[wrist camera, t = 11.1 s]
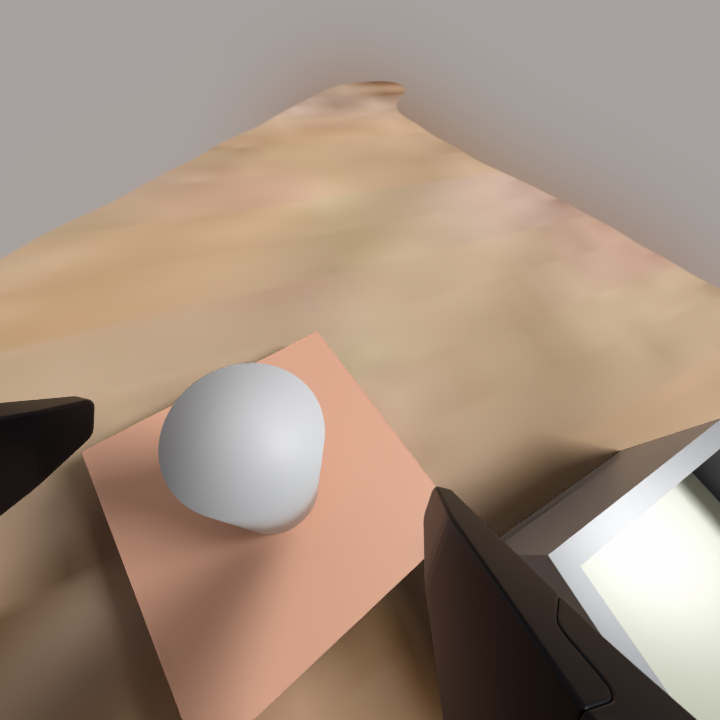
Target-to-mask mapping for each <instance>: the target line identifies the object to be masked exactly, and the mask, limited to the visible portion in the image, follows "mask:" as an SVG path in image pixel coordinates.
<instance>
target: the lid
mask: <svg viewBox="0 0 720 720" xmlns="http://www.w3.org/2000/svg"><path fill="white" fill-rule="evenodd" d="M81 453H82V455H83V458H84V461H85V463H86V466H87V469H88V471H89V474H90V477H91V479H92V482H93V485H94V487H95V490H96V493H97V495H98V498H99V500H100V503H101V506H102V508H103V511H104V514H105V516H106V519H107V522H108V524H109V527H110V530H111V532H112V535H113V538H114V540H115V543H116V546H117V548H118V551H119V554H120V556H121V559H122V561H123V564H124V567H125V569H126V572H127V575H128V577H129V580H130V583H131V585H132V588H133V591H134V593H135V596H136V599H137V601H138V604H139V607H140V609H141V612H142V614H143V617H144V620H145V622H146V625H147V628H148V630H149V633H150V636H151V638H152V641H153V644H154V646H155V649H156V652H157V654H158V657H159V660H160V662H161V665H162V667H163V670H164V673H165V675H166V678H167V681H168V683H169V686H170V689H171V691H172V694H173V697H174V699H175V702H176V705H177V707H178V710H179V713H180V715H181V718H182V720H254V719H255V718H256V717H257V716H258V715H259V714H260V713H261V712H262V711H263V710H264V709H265V708H266V707H267V706H268V705H269V704H271V703H272V702H273V701H274V700H275V699H276V698H277V697H278V696H279V695H280V694H281V693H282V692H283V691H284V690H285V689H286V688H288V687H289V686H290V685H291V684H292V683H293V682H294V681H295V680H296V679H297V678H298V677H299V676H300V675H301V674H302V673H303V672H304V671H306V670H307V669H308V668H309V667H310V666H311V665H312V664H313V663H314V662H315V661H316V660H317V659H318V658H319V657H320V656H321V655H323V654H324V653H325V652H326V651H327V650H328V649H329V648H330V647H331V646H332V645H333V644H334V643H335V642H336V641H337V640H338V639H339V638H341V637H342V636H343V635H344V634H345V633H346V632H347V631H348V630H349V629H350V628H351V627H352V626H353V625H354V624H355V623H356V622H358V621H359V620H360V619H361V618H362V617H363V616H364V615H365V614H366V613H367V612H368V611H369V610H370V609H371V608H372V607H373V606H374V605H376V604H377V603H378V602H379V601H380V600H381V599H382V598H383V597H384V596H385V595H386V594H387V593H388V592H389V591H390V590H391V589H393V588H394V587H395V586H396V585H397V584H398V583H399V582H400V581H401V580H402V579H403V578H404V577H405V576H406V575H407V574H408V573H409V572H411V571H412V570H413V569H414V568H415V567H416V566H417V565H418V564H419V563H420V562H421V561H422V560H423V559H424V527H423V521H424V514H425V510H426V508H427V505H428V502H429V499H430V496H431V493H432V490H433V489H434V488H435V487H436V486H435V485H434V483H433V482H432V481H431V480H430V478H429V477H428V476H427V474H426V473H425V472H424V470H423V469H422V468H421V466H420V465H419V464H418V463H417V461H416V460H415V459H414V457H413V456H412V455H411V453H410V452H409V451H408V449H407V448H406V447H405V445H404V444H403V443H402V442H401V440H400V439H399V438H398V436H397V435H396V434H395V432H394V431H393V430H392V428H391V427H390V426H389V424H388V423H387V422H386V421H385V419H384V418H383V417H382V415H381V414H380V413H379V411H378V410H377V409H376V407H375V406H374V405H373V404H372V402H371V401H370V400H369V398H368V397H367V396H366V394H365V393H364V392H363V390H362V389H361V388H360V386H359V385H358V384H357V383H356V381H355V380H354V379H353V377H352V376H351V375H350V373H349V372H348V371H347V369H346V368H345V367H344V365H343V364H342V363H341V362H340V360H339V359H338V358H337V356H336V355H335V354H334V352H333V351H332V350H331V348H330V347H329V346H328V345H327V343H326V342H325V341H324V339H323V338H322V337H321V335H320V334H319V333H318V331H317V332H315V333H313V334H311V335H309V336H307V337H305V338H303V339H301V340H299V341H297V342H295V343H293V344H291V345H289V346H288V347H286V348H284V349H282V350H280V351H278V352H276V353H274V354H272V355H270V356H268V357H266V358H264V359H262V360H260V361H258V362H256V363H242V364H236V365H231V366H227V367H224V368H221V369H218V370H216V371H213V372H211V373H209V374H207V375H206V376H204V377H202V378H200V379H199V380H198V381H196V382H195V383H193V384H192V385H191V386H190V387H189V388H188V389H186V390H185V391H184V392H183V394H182V395H181V396H180V397H179V398H178V399H177V400H176V402H175V403H174V405H172V406H170V407H168V408H166V409H164V410H162V411H160V412H158V413H156V414H154V415H152V416H150V417H148V418H146V419H144V420H142V421H140V422H138V423H136V424H134V425H132V426H130V427H128V428H126V429H125V430H123V431H121V432H119V433H117V434H115V435H113V436H111V437H109V438H107V439H105V440H103V441H101V442H99V443H97V444H95V445H93V446H91V447H89V448H87V449H85V450H83V451H81Z"/></svg>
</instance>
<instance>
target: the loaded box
mask: <svg viewBox="0 0 720 720" xmlns="http://www.w3.org/2000/svg"><path fill="white" fill-rule="evenodd" d="M500 538H501V539H502V540H503V541H504V542H505V543H506V544H507V545H508V546H509V547H510V548H511V549H512V550H513V551H514V552H515V553H517V554H518V555H519V556H520V557H521V558H522V559H523V560H524V561H525V562H526V563H527V564H528V565H529V566H530V567H531V568H532V569H533V570H534V571H535V572H536V573H537V574H538V575H539V576H540V577H541V578H542V579H543V580H544V581H545V582H546V583H547V584H549V585H550V586H551V587H552V588H553V589H554V590H555V591H556V592H557V593H558V595H559V597H562V598H563V599H564V600H565V601H566V602H567V603H568V604H569V605H570V606H571V607H572V608H573V609H574V610H575V611H576V612H577V613H579V614H580V615H581V616H582V617H583V618H584V619H585V620H586V621H587V622H588V623H589V624H590V625H591V626H592V627H593V628H594V629H596V630H597V631H598V632H599V633H600V634H601V635H602V636H603V637H604V638H605V639H606V640H607V641H608V642H610V643H611V644H612V645H613V646H614V647H615V648H616V649H617V650H619V651H620V652H621V653H622V654H623V655H624V656H625V657H626V658H628V659H629V660H630V661H631V662H632V663H633V664H634V665H635V666H636V667H638V668H639V669H640V670H641V671H642V672H643V673H644V674H646V675H647V676H648V677H649V678H650V679H651V680H652V681H654V682H655V683H656V684H657V685H658V686H659V687H660V688H662V689H663V690H664V691H665V692H666V693H667V694H668V695H669V696H671V697H672V698H673V699H674V700H675V701H676V702H677V703H679V704H680V705H681V706H682V707H683V708H684V709H685V710H687V711H688V712H689V713H690V714H691V715H692V716H693V717H695V718H696V719H697V720H720V419H717V420H714V421H711V422H708V423H705V424H702V425H699V426H696V427H693V428H689V429H686V430H683V431H680V432H677V433H674V434H671V435H668V436H665V437H661V438H658V439H655V440H652V441H649V442H646V443H643V444H640V445H637V446H633V447H630V448H627V449H624V450H621V451H620V452H619V453H617V454H616V455H614V456H613V457H612V458H610V459H609V460H607V461H606V462H605V463H603V464H602V465H600V466H599V467H598V468H596V469H595V470H593V471H592V472H591V473H589V474H588V475H586V476H585V477H584V478H582V479H581V480H579V481H578V482H577V483H575V484H574V485H572V486H571V487H570V488H568V489H567V490H565V491H564V492H563V493H561V494H560V495H558V496H557V497H556V498H554V499H553V500H551V501H550V502H549V503H547V504H546V505H544V506H543V507H542V508H540V509H539V510H537V511H536V512H535V513H533V514H532V515H530V516H529V517H528V518H526V519H525V520H523V521H522V522H521V523H519V524H518V525H516V526H515V527H514V528H512V529H511V530H509V531H508V532H507V533H505V534H504V535H502V536H501V537H500Z"/></svg>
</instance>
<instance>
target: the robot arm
mask: <svg viewBox="0 0 720 720" xmlns="http://www.w3.org/2000/svg"><path fill="white" fill-rule="evenodd" d="M93 429H94V403H93V402H92V401H91V400H89V399H85V398H81V397H76V396H72V397H61V398H50V399H39V400H28V401H17V402H6V403H0V516H1V515H2V514H3V513H4V512H6V511H7V510H8V509H10V508H11V507H12V506H13V505H15V504H16V503H17V502H18V501H20V500H21V499H22V498H24V497H25V496H26V495H27V494H29V493H30V492H31V491H32V490H33V489H35V488H36V487H37V486H38V485H39V484H41V483H42V482H43V481H44V480H45V479H46V478H47V477H48V476H49V475H51V474H52V473H53V472H54V471H55V470H56V469H57V468H58V467H59V466H60V465H61V464H62V463H63V462H65V461H66V460H67V459H68V458H69V457H70V456H71V455H72V454H73V453H74V452H75V451H76V450H77V449H79V448H80V447H81V446H82V445H83V444H84V443H85V442H86V441H87V440H88V439H89V438H90V436H91V435H92V433H93ZM423 527H424V570H425V586H426V595H427V602H428V610H429V617H430V625H431V633H432V640H433V648H434V655H435V663H436V670H437V678H438V685H439V693H440V700H441V708H442V715H443V720H697V719H696V718H695V717H693V716H692V715H691V714H690V713H689V712H688V711H687V710H685V709H684V708H683V707H682V706H681V705H680V704H679V703H677V702H676V701H675V700H674V699H673V698H672V697H671V696H669V695H668V694H667V693H666V692H665V691H664V690H663V689H662V688H660V687H659V686H658V685H657V684H656V683H655V682H654V681H652V680H651V679H650V678H649V677H648V676H647V675H646V674H644V673H643V672H642V671H641V670H640V669H639V668H638V667H636V666H635V665H634V664H633V663H632V662H631V661H630V660H629V659H628V658H626V657H625V656H624V655H623V654H622V653H621V652H620V651H619V650H617V649H616V648H615V647H614V646H613V645H612V644H611V643H610V642H608V641H607V640H606V639H605V638H604V637H603V636H602V635H601V634H600V633H599V632H598V631H597V630H596V629H594V628H593V627H592V626H591V625H590V624H589V623H588V622H587V621H586V620H585V619H584V618H583V617H582V616H581V615H580V614H579V613H577V612H576V611H575V610H574V609H573V608H572V607H571V606H570V605H569V604H568V603H567V602H566V601H565V600H564V599H563V598H562V597H559V595H558V593H557V592H556V591H555V590H554V589H553V588H552V587H551V586H550V585H549V584H547V583H546V582H545V581H544V580H543V579H542V578H541V577H540V576H539V575H538V574H537V573H536V572H535V571H534V570H533V569H532V568H531V567H530V566H529V565H528V564H527V563H526V562H525V561H524V560H523V559H522V558H521V557H520V556H519V555H518V554H517V553H515V552H514V551H513V550H512V549H511V548H510V547H509V546H508V545H507V544H506V543H505V542H504V541H503V540H502V539H501V538H500V537H499V536H498V535H497V534H496V533H495V532H494V531H493V530H492V529H491V528H490V527H489V526H488V525H487V524H486V523H484V522H483V521H482V520H481V519H480V518H479V517H478V516H477V515H476V514H475V513H474V512H473V511H472V510H471V509H470V508H469V507H468V506H467V505H466V504H465V503H464V502H463V501H462V500H461V499H460V498H459V497H458V496H457V495H456V494H455V493H453V492H452V491H451V490H450V489H446V488H442V487H437V486H436V487H435V488H434V489H433V490H432V493H431V496H430V499H429V502H428V505H427V508H426V510H425V514H424V521H423Z"/></svg>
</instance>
